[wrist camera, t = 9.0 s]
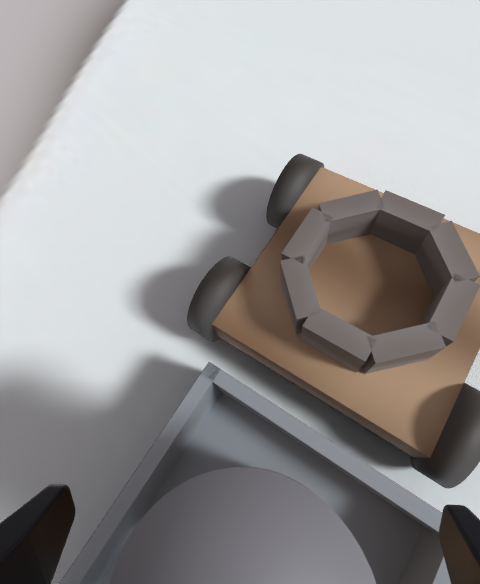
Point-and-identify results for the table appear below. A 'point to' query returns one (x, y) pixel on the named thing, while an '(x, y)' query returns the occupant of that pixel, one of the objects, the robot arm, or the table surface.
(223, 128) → the table surface
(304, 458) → the tray
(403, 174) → the table surface
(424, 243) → the trolley
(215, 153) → the table surface
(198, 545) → the pin
